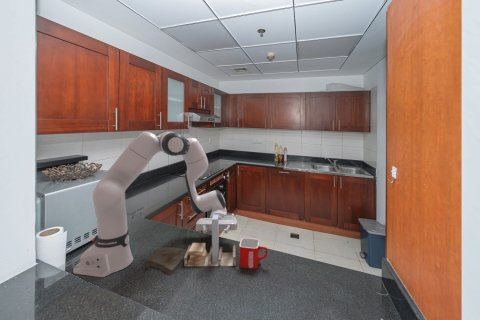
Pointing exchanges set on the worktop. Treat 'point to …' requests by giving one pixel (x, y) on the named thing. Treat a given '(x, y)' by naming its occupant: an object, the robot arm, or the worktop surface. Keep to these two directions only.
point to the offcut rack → (223, 259)
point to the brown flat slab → (167, 259)
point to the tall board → (215, 238)
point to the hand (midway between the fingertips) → (215, 231)
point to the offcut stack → (197, 254)
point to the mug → (250, 252)
